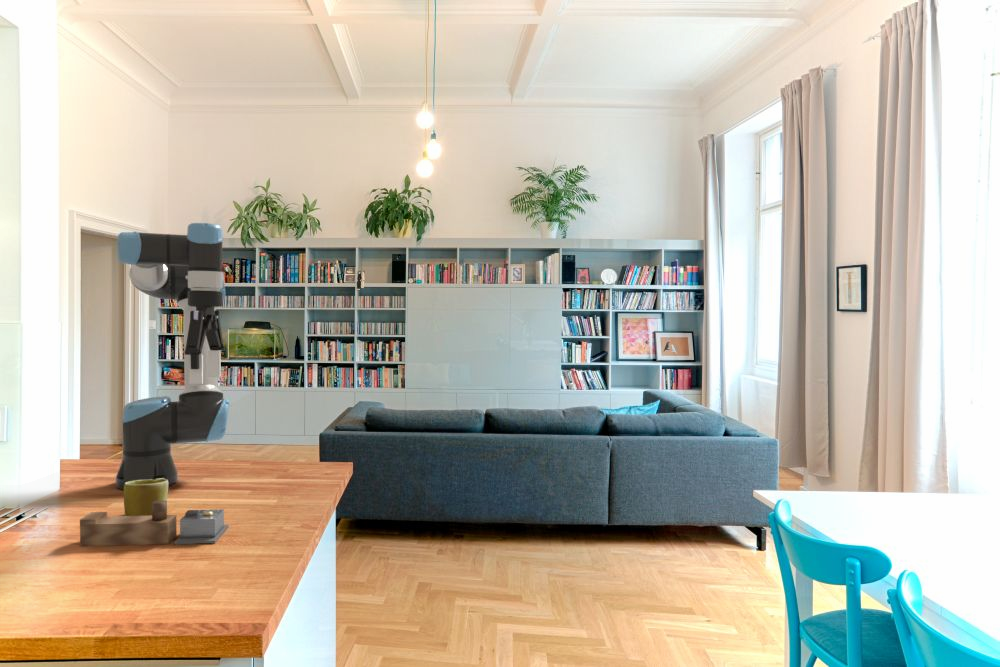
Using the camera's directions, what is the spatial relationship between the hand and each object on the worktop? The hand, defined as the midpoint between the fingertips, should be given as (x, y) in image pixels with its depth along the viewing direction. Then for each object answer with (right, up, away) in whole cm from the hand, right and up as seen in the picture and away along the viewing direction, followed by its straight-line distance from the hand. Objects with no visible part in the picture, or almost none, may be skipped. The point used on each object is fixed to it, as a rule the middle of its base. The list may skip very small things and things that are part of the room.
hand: (205, 380), depth 158 cm
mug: (-13, -32, +1) cm, 35 cm away
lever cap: (+5, -32, -14) cm, 35 cm away
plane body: (-8, -32, -18) cm, 38 cm away
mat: (+5, -32, -14) cm, 36 cm away
